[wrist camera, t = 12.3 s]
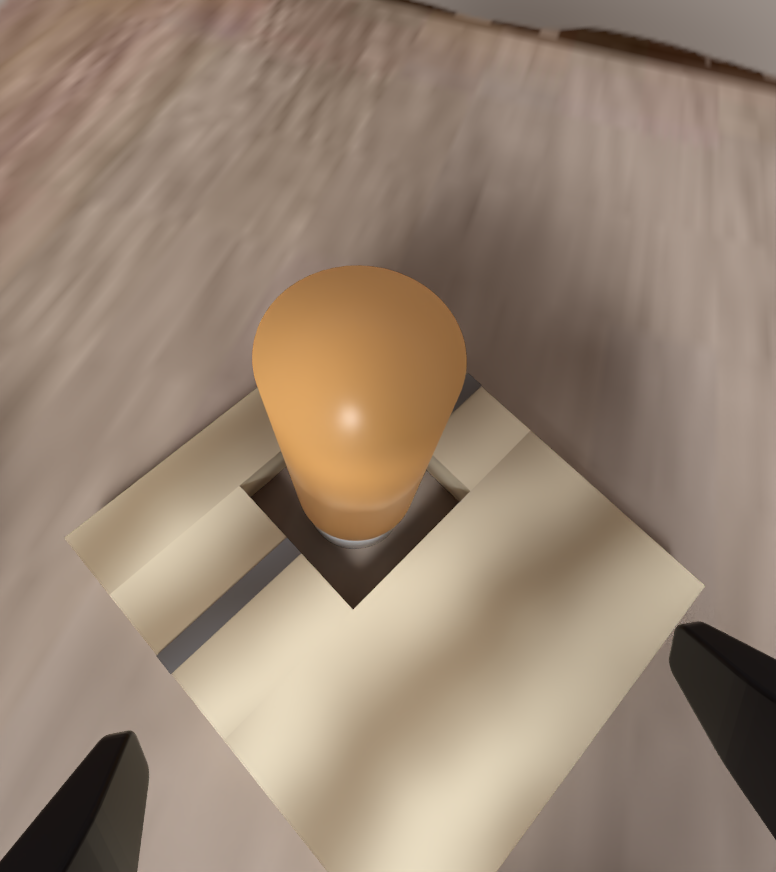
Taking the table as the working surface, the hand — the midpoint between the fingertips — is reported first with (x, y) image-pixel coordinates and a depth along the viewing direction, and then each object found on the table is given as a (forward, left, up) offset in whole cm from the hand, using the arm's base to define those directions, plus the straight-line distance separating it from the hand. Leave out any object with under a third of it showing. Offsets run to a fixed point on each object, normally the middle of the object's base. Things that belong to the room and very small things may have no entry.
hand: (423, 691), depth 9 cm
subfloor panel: (+2, -3, -12) cm, 13 cm away
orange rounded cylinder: (+5, -4, -12) cm, 14 cm away
